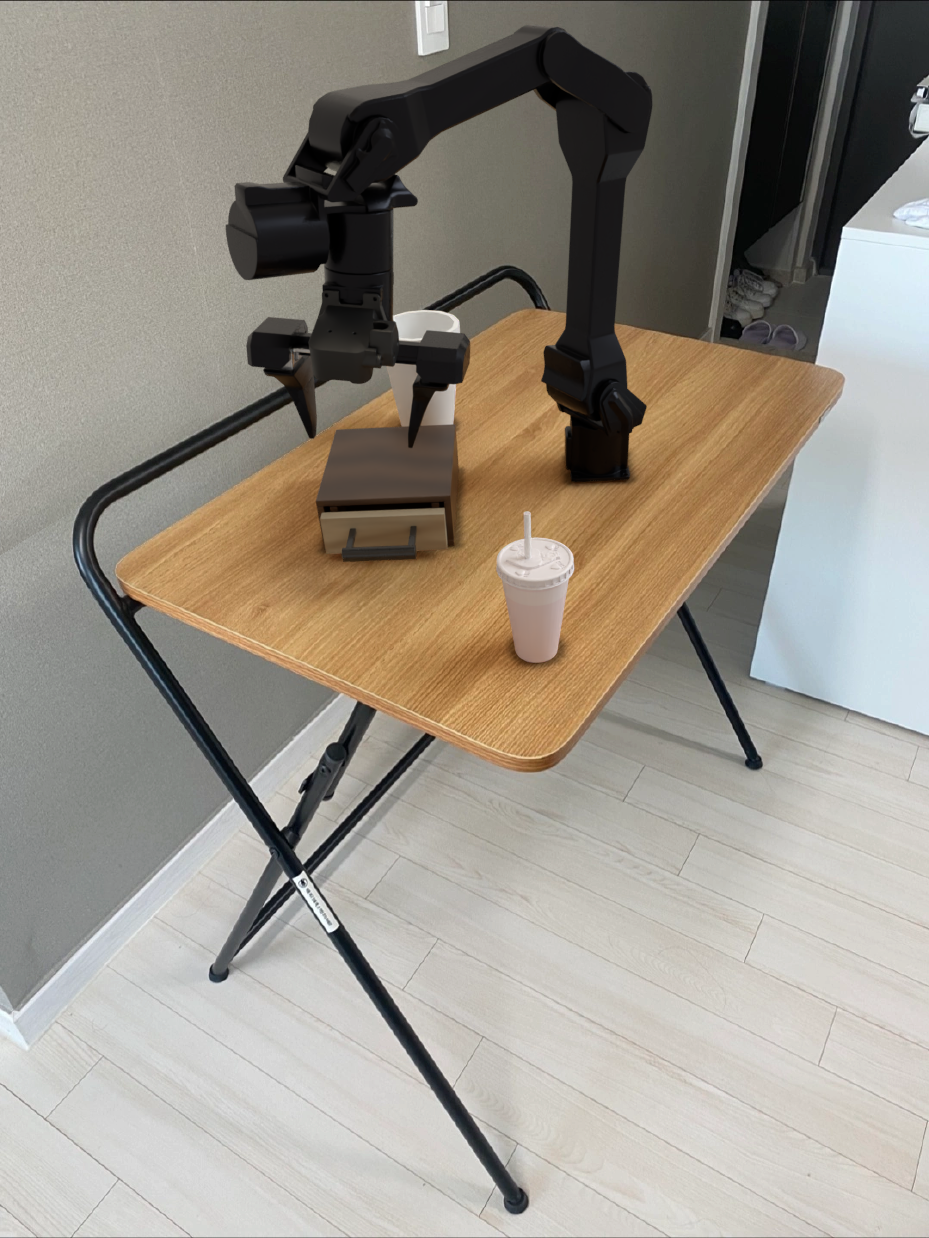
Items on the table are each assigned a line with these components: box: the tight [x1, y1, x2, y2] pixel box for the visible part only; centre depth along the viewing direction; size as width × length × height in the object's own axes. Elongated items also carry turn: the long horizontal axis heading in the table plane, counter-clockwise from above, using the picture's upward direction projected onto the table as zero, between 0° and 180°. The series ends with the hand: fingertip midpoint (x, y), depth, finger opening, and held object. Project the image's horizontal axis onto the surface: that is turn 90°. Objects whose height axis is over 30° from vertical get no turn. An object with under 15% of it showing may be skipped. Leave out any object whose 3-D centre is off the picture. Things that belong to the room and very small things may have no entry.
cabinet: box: [315, 423, 460, 551], centre depth 102 cm, size 15×13×6 cm
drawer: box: [320, 502, 448, 563], centre depth 99 cm, size 19×12×4 cm, turn 178°
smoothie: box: [495, 510, 575, 664], centre depth 80 cm, size 6×6×14 cm
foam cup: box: [385, 309, 461, 427], centre depth 115 cm, size 10×9×13 cm
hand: (361, 441), depth 88 cm, fingers open, 9 cm apart
